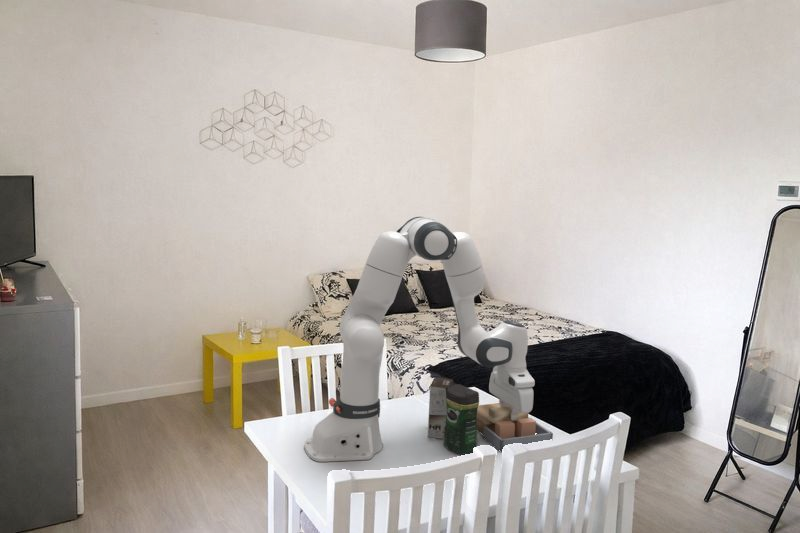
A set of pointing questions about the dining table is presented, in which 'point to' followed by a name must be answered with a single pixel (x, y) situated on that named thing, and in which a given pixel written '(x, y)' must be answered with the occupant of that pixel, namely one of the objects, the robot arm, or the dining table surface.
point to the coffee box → (438, 407)
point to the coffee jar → (461, 419)
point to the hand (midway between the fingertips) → (508, 416)
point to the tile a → (505, 429)
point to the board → (483, 417)
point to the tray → (516, 437)
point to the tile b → (525, 427)
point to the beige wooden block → (504, 414)
